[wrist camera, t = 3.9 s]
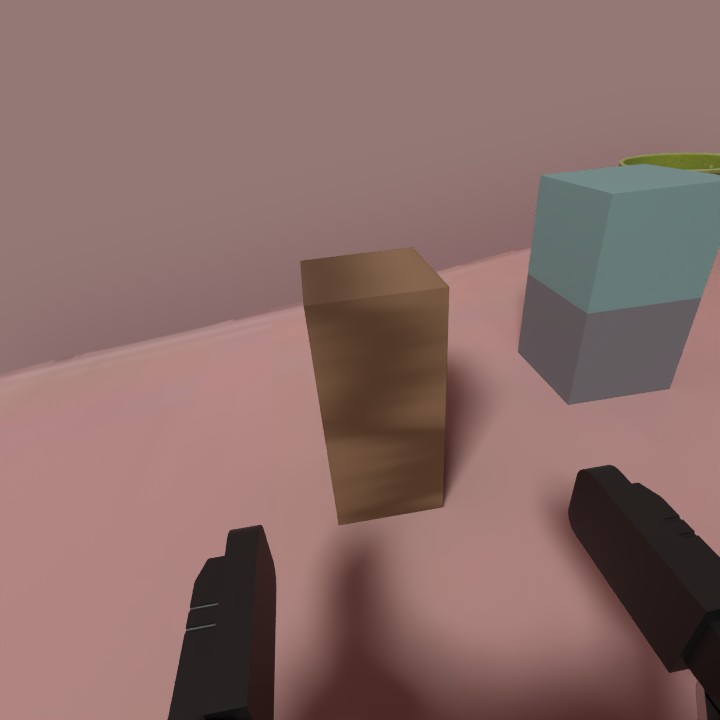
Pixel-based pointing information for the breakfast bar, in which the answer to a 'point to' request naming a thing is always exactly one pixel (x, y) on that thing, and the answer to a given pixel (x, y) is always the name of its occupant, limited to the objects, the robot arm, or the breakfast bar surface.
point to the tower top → (626, 235)
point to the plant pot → (679, 161)
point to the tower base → (602, 344)
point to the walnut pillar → (380, 378)
